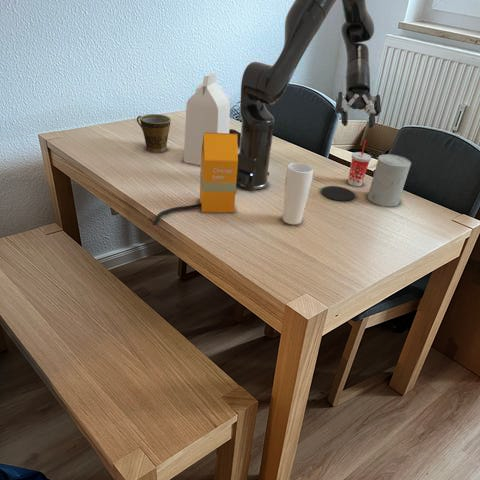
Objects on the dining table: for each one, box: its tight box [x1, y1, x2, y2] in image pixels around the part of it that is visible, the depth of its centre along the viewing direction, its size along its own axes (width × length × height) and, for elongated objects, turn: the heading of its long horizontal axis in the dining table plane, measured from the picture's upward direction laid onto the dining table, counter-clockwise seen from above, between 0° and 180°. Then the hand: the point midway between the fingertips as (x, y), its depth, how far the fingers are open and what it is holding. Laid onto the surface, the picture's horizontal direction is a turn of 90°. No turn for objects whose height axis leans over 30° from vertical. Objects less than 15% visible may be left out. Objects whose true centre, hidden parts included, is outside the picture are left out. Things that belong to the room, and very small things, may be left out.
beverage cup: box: [347, 138, 372, 187], centre depth 150 cm, size 6×6×14 cm
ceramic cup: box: [136, 113, 172, 153], centre depth 160 cm, size 13×10×10 cm
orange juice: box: [199, 133, 239, 213], centre depth 127 cm, size 8×9×20 cm
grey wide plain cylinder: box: [367, 153, 412, 208], centre depth 142 cm, size 10×10×12 cm
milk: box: [183, 71, 231, 166], centre depth 151 cm, size 12×12×26 cm
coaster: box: [321, 185, 355, 202], centre depth 146 cm, size 10×10×1 cm
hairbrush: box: [229, 128, 241, 148], centre depth 174 cm, size 8×4×25 cm
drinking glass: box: [281, 162, 314, 226], centre depth 125 cm, size 7×7×15 cm
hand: (358, 125), depth 152 cm, fingers open, 8 cm apart
